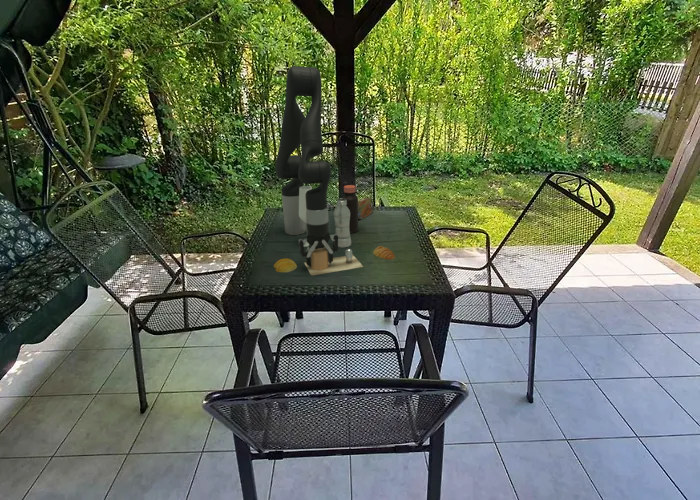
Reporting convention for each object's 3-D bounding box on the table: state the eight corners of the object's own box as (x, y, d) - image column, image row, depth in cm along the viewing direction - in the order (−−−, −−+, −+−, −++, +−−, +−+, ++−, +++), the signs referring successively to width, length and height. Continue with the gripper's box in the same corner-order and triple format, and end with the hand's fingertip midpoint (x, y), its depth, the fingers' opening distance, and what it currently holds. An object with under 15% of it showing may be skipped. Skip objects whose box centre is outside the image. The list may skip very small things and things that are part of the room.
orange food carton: (357, 221, 199) (357, 204, 195) (352, 220, 200) (351, 203, 197) (374, 212, 210) (374, 196, 207) (368, 211, 212) (368, 195, 209)
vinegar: (361, 231, 187) (360, 186, 179) (348, 234, 184) (347, 189, 176) (352, 226, 192) (351, 183, 184) (339, 230, 189) (338, 186, 181)
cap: (309, 264, 153) (308, 248, 151) (325, 262, 155) (324, 245, 152) (313, 271, 148) (312, 254, 146) (330, 268, 150) (329, 252, 147)
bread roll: (277, 278, 148) (276, 268, 146) (272, 267, 156) (271, 257, 154) (300, 274, 150) (299, 264, 149) (294, 264, 158) (293, 254, 157)
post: (344, 261, 155) (344, 248, 153) (351, 260, 156) (350, 247, 154) (347, 263, 153) (346, 250, 151) (353, 262, 154) (353, 249, 152)
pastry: (400, 261, 159) (400, 251, 157) (385, 265, 155) (385, 256, 154) (384, 252, 166) (384, 243, 164) (370, 257, 163) (370, 248, 161)
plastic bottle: (349, 251, 167) (348, 202, 159) (332, 250, 168) (331, 201, 160) (352, 245, 173) (352, 197, 165) (336, 244, 174) (335, 197, 166)
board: (304, 266, 156) (303, 262, 155) (353, 258, 161) (353, 254, 161) (311, 279, 146) (311, 275, 146) (363, 270, 152) (363, 266, 151)
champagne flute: (297, 246, 173) (293, 188, 163) (306, 240, 178) (303, 184, 169) (311, 249, 170) (308, 190, 160) (320, 243, 175) (317, 186, 166)
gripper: (334, 214, 150) (335, 257, 157) (294, 219, 146) (297, 263, 152) (340, 221, 143) (342, 265, 150) (299, 226, 139) (302, 272, 146)
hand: (319, 264), depth 151 cm, fingers open, 7 cm apart
